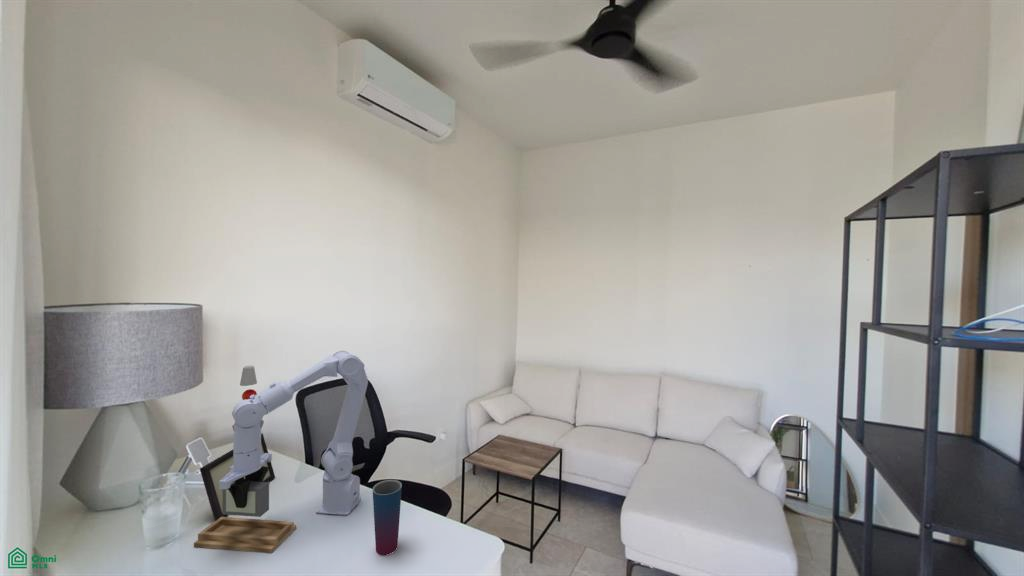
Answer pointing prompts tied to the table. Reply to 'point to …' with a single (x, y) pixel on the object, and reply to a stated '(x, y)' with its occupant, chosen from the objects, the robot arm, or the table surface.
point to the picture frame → (219, 470)
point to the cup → (386, 515)
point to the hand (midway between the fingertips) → (247, 502)
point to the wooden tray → (245, 534)
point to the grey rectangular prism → (249, 501)
